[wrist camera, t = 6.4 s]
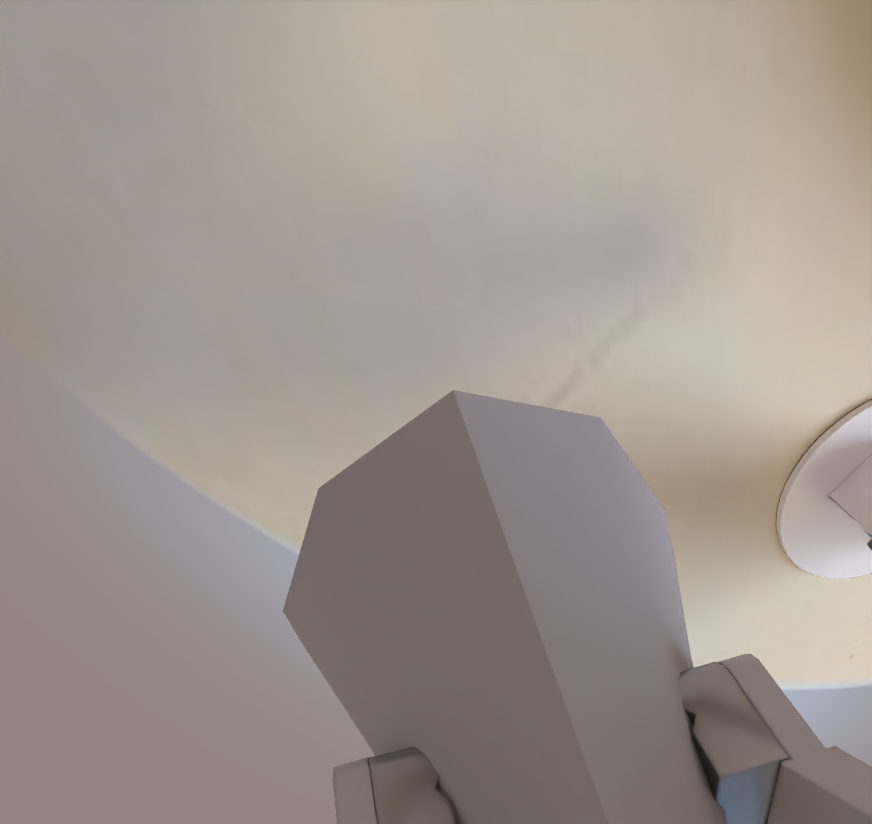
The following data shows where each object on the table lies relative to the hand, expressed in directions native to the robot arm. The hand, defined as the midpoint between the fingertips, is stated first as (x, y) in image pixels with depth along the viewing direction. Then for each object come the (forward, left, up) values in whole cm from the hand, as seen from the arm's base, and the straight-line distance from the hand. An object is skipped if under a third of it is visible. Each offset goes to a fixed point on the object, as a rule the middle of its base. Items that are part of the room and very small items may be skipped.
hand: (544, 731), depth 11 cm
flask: (0, 0, -4) cm, 4 cm away
